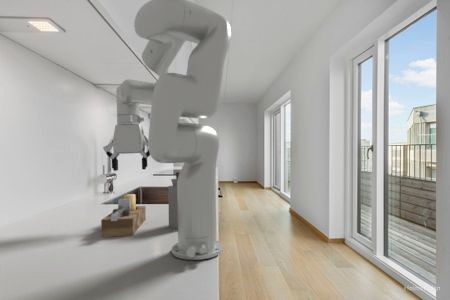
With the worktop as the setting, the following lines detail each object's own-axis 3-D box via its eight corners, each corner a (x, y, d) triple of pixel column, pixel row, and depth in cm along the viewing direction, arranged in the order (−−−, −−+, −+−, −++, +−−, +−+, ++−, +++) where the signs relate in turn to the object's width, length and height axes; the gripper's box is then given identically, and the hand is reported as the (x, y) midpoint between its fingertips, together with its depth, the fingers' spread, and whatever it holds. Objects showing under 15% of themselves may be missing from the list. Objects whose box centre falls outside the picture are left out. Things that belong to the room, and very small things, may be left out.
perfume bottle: (197, 224, 95) (196, 171, 95) (184, 229, 89) (183, 173, 89) (182, 222, 99) (181, 171, 99) (168, 226, 93) (168, 172, 93)
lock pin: (120, 220, 81) (120, 205, 81) (107, 221, 81) (107, 205, 81) (130, 211, 93) (130, 198, 93) (119, 212, 93) (119, 199, 93)
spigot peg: (134, 224, 96) (134, 195, 97) (122, 225, 96) (122, 196, 96) (137, 221, 100) (136, 193, 101) (125, 222, 100) (125, 194, 100)
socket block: (132, 235, 84) (132, 212, 84) (101, 236, 83) (101, 213, 83) (145, 219, 104) (145, 200, 104) (120, 220, 103) (120, 201, 103)
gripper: (155, 122, 103) (156, 168, 102) (106, 123, 102) (108, 170, 101) (151, 119, 96) (153, 169, 95) (99, 120, 94) (100, 171, 93)
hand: (130, 169), depth 98 cm, fingers open, 9 cm apart
